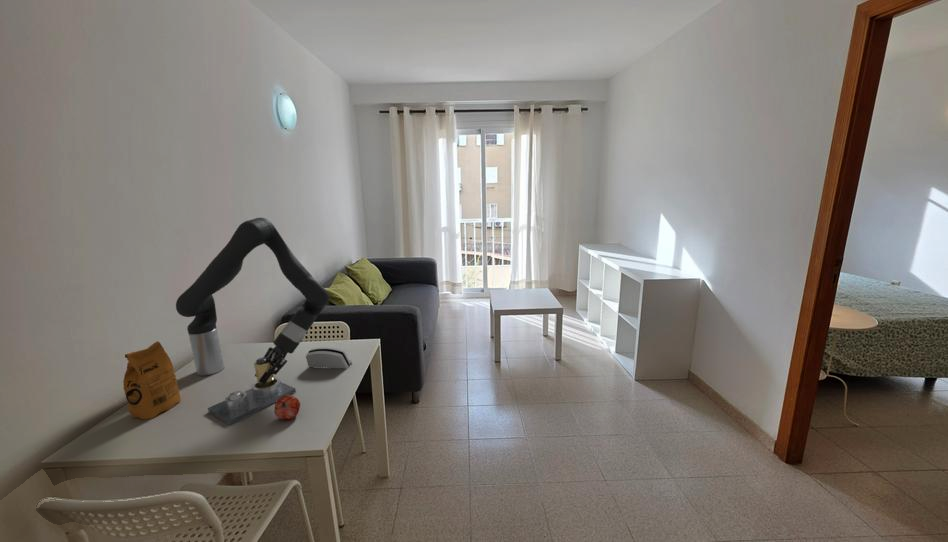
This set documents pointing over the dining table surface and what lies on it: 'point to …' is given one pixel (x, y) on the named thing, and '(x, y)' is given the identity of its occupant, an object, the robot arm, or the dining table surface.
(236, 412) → the fitting plate
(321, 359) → the grey rounded block
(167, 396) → the coffee package
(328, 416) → the dining table surface
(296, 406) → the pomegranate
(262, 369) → the gold and black cylinder
